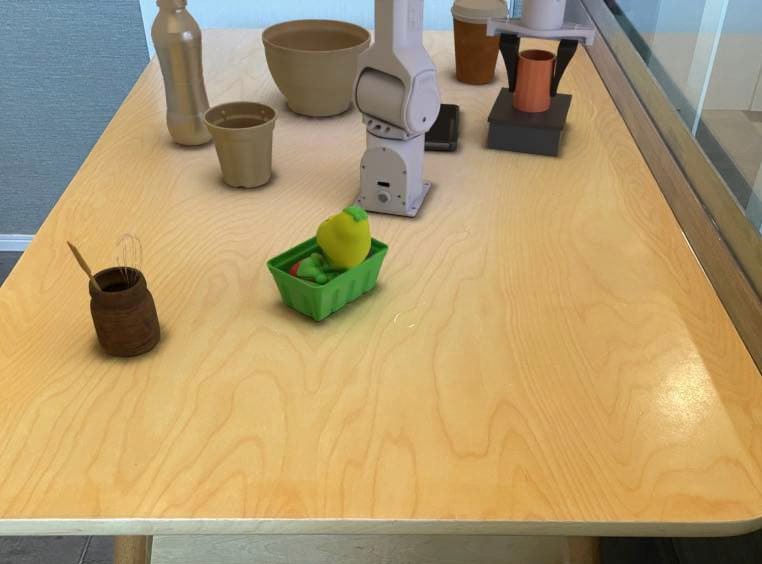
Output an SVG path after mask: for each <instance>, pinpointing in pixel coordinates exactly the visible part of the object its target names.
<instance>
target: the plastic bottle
mask: <svg viewBox="0 0 762 564" xmlns="http://www.w3.org/2000/svg"><path fill="white" fill-rule="evenodd" d="M155 5H156V7H157V8H159V10H158V12H157V14H156V16H155V18H154V20H153V22H152V24H151V28H150V36H151V40H152V44H153V47H154V50H155V53H156V57H157V60H158V63H159V67H160V72H161V75H162V80H163V84H164V92H165V93H164V94H165V104H166V114H165V118H166V119H165V120H166V127H167V130H168V133H169V136H170V137H171V138H172V139H173V140H174V142H175V143H178V144H180V145H185V146H198V145H203V144H205V143H208V142H209V141H211V140H213V139H212V135H211V134H210V133H209V131H208V128H207V125H206V124H205V123H204V122H203V119H202V116H203V113H204V112H205V111H206V110H208V109H209V108H211V105H210V101H209V98H208V93H207V89H206V84H205V77H204V68H203V67H204V66H203V33H202V30H201V28H200V26H199V23H198V22H197V21H196V19H195V18H194V17H193V16H192V14H191V13H190V12H189V10H187V8H186V7H187V6H188V0H156V1H155Z"/></svg>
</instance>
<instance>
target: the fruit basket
mask: <svg viewBox="0 0 762 564" xmlns="http://www.w3.org/2000/svg"><path fill="white" fill-rule="evenodd" d="M369 222H370V221H369V215H368V213H367V211H366V210H364V209H363V208H361V207H357V206H353V205H348V206H345V207H344V208H343V209H342V211H341V212H338V213H336V214H333V215H331V216H329V217H328V218H327V219H325V220H324V221H322V222H321V223H320V225H319V226H318V228H317V230H316V233H315V235H313V236H312V237H310V238H307V239H306V240H304V241H303V242H299V243H298V244H297V245H294V246H293V247H291V248H288V249H287V250H285V251H284V252H281V253H280V254H278V255H275V256H274V257H271V258H270V259H268V260H267V261H266V266H267V269H268V270H269V272H270V274H271V275H272V277H273V279H274V282H275V285H276V287H277V289H278V292H279V294H280V296H281V299H282V301H283V303H284V305H285V306H289V307H291V308H293V309H294V310H295V311H297V312H300V313H302V314H303V315H305V316H306V317H311V318H313V320H314V321H316V322H321V321H322V320H324V319H325V318H327V317H329V316H330V315H331V313H335V312H337V311H338V310H340V309H342V308H343V307H345V306H346V305H347V304H348V303H352V302H353V301H355V300H356V299H358V298H360V297H361V295H363V294H365V293H368V292H369V291H371V290H372V289H374V288H375V287H376V283H377V280H378V277H379V274H380V271H381V268H382V265H383V262H384V258H385V257H386V256H387V254H388V251H389V248H390V246H389V245H388V244H387V243H385V242H383V241H380V240H378V239H376V238H374V237H373V236H372V234H371V231H370V229H371V228H370V223H369Z"/></svg>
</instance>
